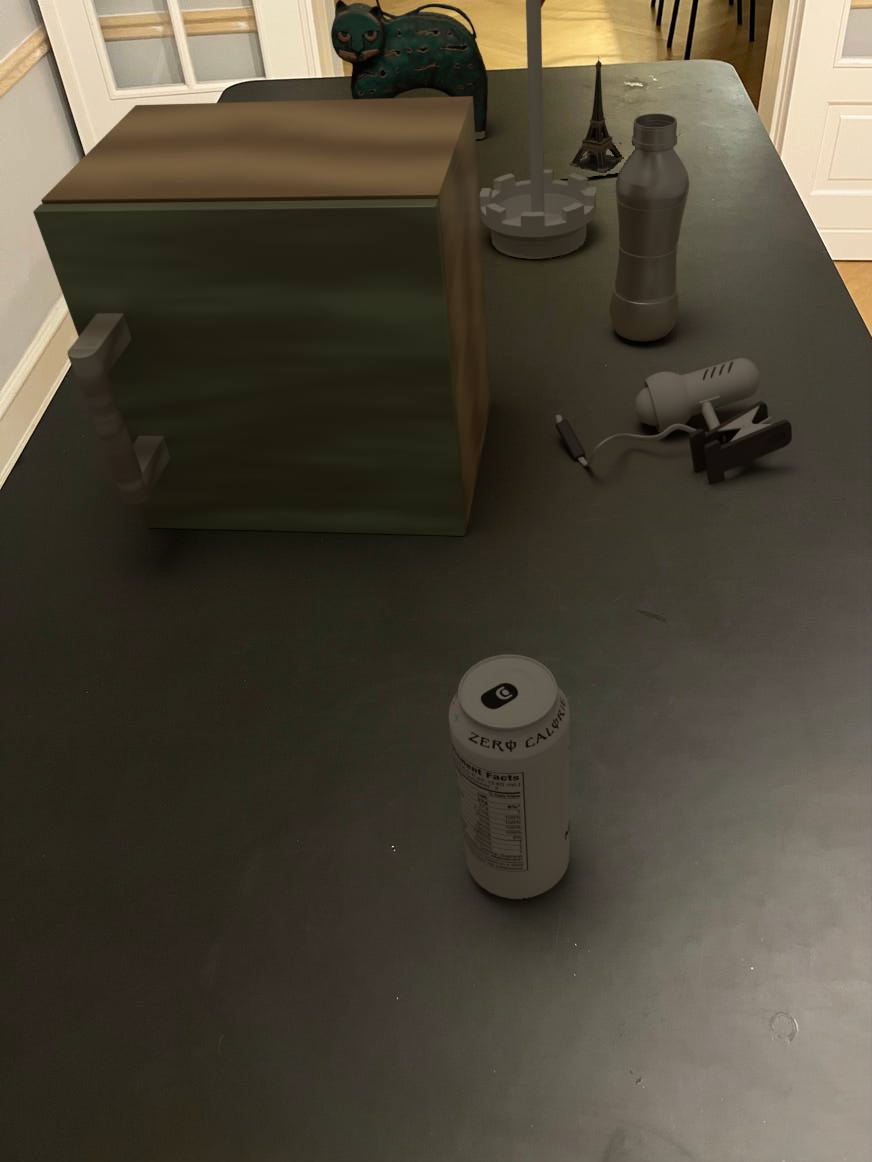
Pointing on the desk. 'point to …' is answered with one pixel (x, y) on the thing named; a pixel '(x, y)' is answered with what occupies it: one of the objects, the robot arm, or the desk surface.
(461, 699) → the energy drink can
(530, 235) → the flag stand
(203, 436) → the cupboard door
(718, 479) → the clip-on lamp
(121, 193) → the cupboard
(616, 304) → the plastic bottle
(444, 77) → the ceramic cat
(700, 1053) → the desk surface
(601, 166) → the eiffel tower figurine
